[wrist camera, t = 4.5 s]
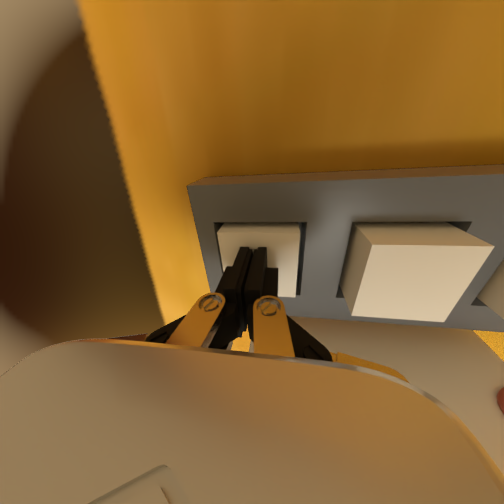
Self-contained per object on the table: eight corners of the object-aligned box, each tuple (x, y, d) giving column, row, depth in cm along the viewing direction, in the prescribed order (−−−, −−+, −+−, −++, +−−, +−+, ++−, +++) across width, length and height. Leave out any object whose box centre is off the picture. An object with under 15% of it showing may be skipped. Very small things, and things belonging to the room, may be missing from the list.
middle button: (443, 221, 11) (494, 246, 8) (412, 286, 13) (443, 322, 10) (352, 221, 11) (372, 244, 9) (338, 283, 14) (351, 315, 11)
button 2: (297, 214, 13) (300, 233, 10) (293, 271, 15) (295, 297, 13) (229, 215, 14) (216, 232, 11) (236, 269, 16) (227, 293, 13)
